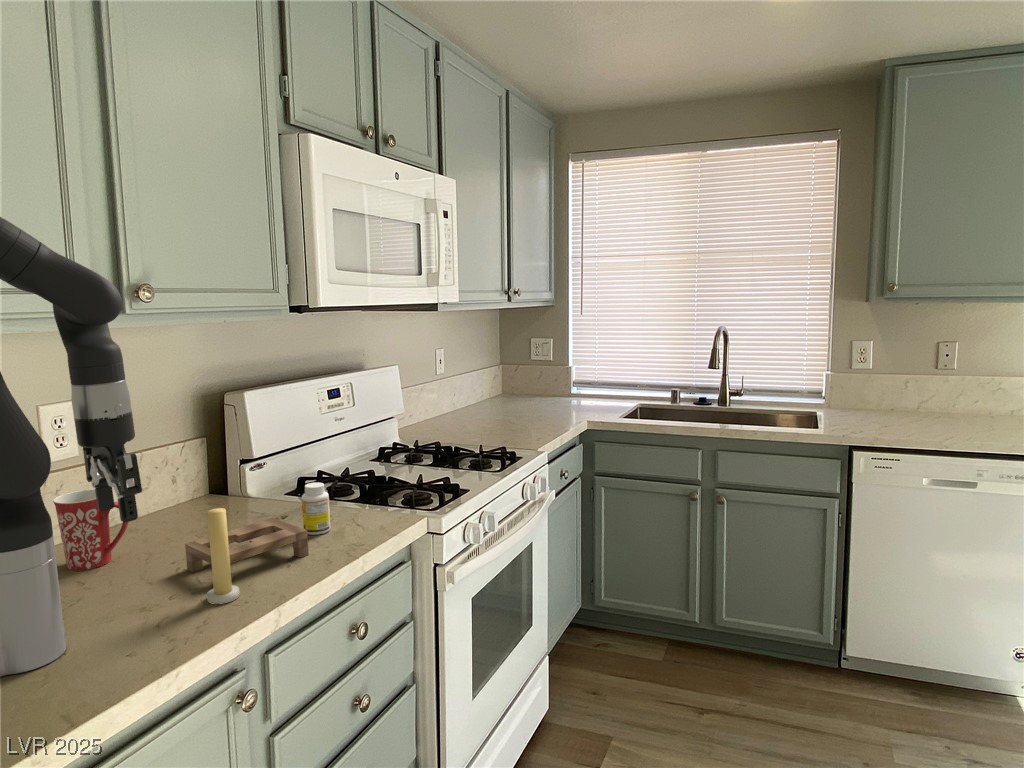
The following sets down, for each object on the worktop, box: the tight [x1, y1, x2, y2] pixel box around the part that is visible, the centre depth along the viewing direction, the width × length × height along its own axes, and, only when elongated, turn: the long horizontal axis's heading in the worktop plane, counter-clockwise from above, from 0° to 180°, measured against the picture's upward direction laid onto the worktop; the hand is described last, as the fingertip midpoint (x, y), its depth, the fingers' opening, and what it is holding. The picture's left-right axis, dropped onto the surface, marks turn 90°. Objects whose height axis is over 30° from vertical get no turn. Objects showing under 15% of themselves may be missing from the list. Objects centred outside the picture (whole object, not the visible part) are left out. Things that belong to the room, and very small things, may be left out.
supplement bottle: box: [301, 481, 331, 536], centre depth 147 cm, size 6×6×10 cm
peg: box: [206, 507, 241, 604], centre depth 115 cm, size 5×5×15 cm
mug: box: [52, 488, 130, 571], centre depth 132 cm, size 13×9×14 cm
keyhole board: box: [184, 517, 309, 573], centre depth 131 cm, size 18×12×5 cm, turn 140°
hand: (117, 515), depth 106 cm, fingers open, 8 cm apart
